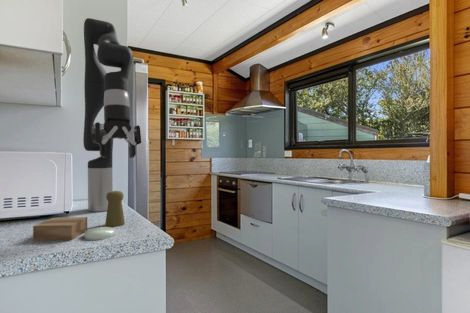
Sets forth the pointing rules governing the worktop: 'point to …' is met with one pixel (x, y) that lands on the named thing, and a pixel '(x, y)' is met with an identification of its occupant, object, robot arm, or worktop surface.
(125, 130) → the robot arm
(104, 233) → the white domed disc
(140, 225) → the worktop surface
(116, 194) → the olive stamp handle
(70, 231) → the walnut plinth
